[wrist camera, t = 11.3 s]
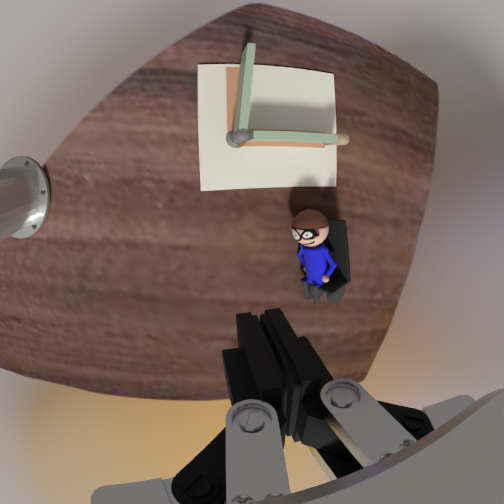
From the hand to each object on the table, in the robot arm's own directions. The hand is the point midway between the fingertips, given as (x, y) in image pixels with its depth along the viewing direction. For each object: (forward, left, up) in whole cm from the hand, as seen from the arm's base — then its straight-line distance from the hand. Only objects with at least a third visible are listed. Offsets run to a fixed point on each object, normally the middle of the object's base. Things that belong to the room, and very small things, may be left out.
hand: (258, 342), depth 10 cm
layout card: (+9, +12, -29) cm, 33 cm away
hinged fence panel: (+5, +16, -28) cm, 33 cm away
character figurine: (+15, -7, -29) cm, 34 cm away
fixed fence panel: (+11, +10, -29) cm, 33 cm away
